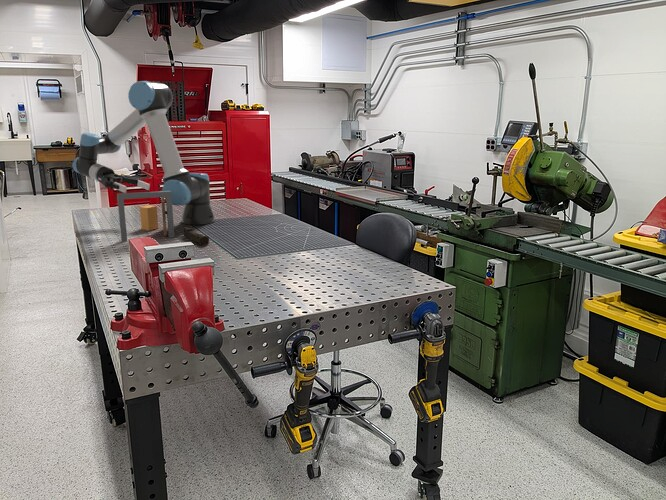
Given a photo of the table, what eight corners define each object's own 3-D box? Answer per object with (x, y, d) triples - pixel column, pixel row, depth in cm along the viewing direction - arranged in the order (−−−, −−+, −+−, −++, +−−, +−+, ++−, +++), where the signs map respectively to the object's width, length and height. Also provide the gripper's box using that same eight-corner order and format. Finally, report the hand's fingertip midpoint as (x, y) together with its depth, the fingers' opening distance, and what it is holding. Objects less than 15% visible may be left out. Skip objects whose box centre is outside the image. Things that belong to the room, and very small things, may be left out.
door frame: (173, 235, 211) (170, 190, 206) (174, 236, 209) (171, 191, 204) (121, 240, 201) (116, 193, 196) (122, 241, 200) (117, 194, 195)
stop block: (141, 229, 222) (139, 206, 219) (150, 227, 226) (149, 205, 223) (149, 230, 219) (147, 208, 217) (158, 228, 223) (156, 206, 221)
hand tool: (209, 245, 198) (209, 233, 197) (200, 246, 195) (199, 235, 194) (190, 236, 212) (190, 225, 211) (181, 237, 210) (180, 226, 209)
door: (170, 235, 210) (168, 202, 206) (163, 235, 209) (161, 202, 205) (170, 228, 222) (167, 196, 218) (163, 228, 221) (161, 197, 218)
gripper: (122, 180, 239) (156, 194, 233) (78, 184, 217) (114, 199, 210) (124, 165, 237) (159, 178, 230) (79, 167, 215) (116, 182, 208)
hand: (137, 188), depth 220 cm, fingers open, 13 cm apart
